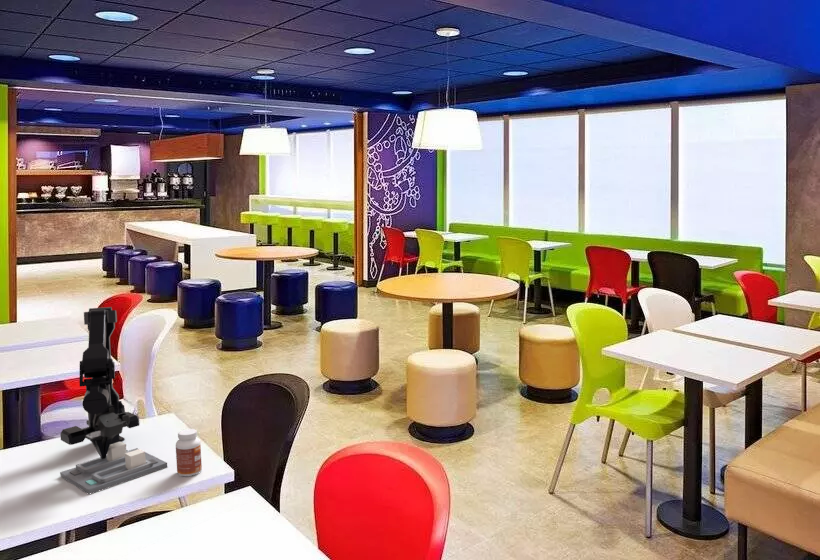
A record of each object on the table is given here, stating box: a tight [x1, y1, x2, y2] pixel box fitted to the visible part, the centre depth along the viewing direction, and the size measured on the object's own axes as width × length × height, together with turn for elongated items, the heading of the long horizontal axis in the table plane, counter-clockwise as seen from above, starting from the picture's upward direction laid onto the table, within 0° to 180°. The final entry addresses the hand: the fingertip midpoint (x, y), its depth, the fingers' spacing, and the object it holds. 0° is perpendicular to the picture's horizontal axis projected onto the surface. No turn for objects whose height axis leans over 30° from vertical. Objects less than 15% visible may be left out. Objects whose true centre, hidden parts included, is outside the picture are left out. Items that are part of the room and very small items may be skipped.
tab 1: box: [107, 441, 127, 461], centre depth 186 cm, size 3×4×4 cm
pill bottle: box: [175, 428, 203, 477], centre depth 180 cm, size 6×6×11 cm
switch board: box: [59, 447, 168, 495], centre depth 182 cm, size 16×21×2 cm
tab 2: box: [125, 448, 146, 469], centre depth 181 cm, size 3×4×4 cm
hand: (103, 458), depth 184 cm, fingers closed
